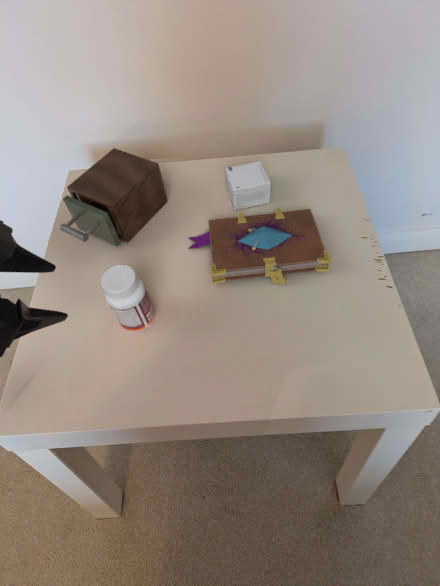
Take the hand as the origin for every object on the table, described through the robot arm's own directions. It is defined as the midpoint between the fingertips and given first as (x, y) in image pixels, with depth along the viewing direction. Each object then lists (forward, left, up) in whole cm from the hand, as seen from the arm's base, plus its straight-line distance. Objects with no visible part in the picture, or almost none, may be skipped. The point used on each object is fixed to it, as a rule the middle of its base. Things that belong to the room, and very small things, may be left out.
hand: (60, 291), depth 51 cm
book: (+31, +8, -13) cm, 34 cm away
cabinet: (+9, +28, -13) cm, 32 cm away
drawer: (+6, +24, -12) cm, 28 cm away
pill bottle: (+8, +1, -13) cm, 15 cm away
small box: (+35, +24, -13) cm, 44 cm away
